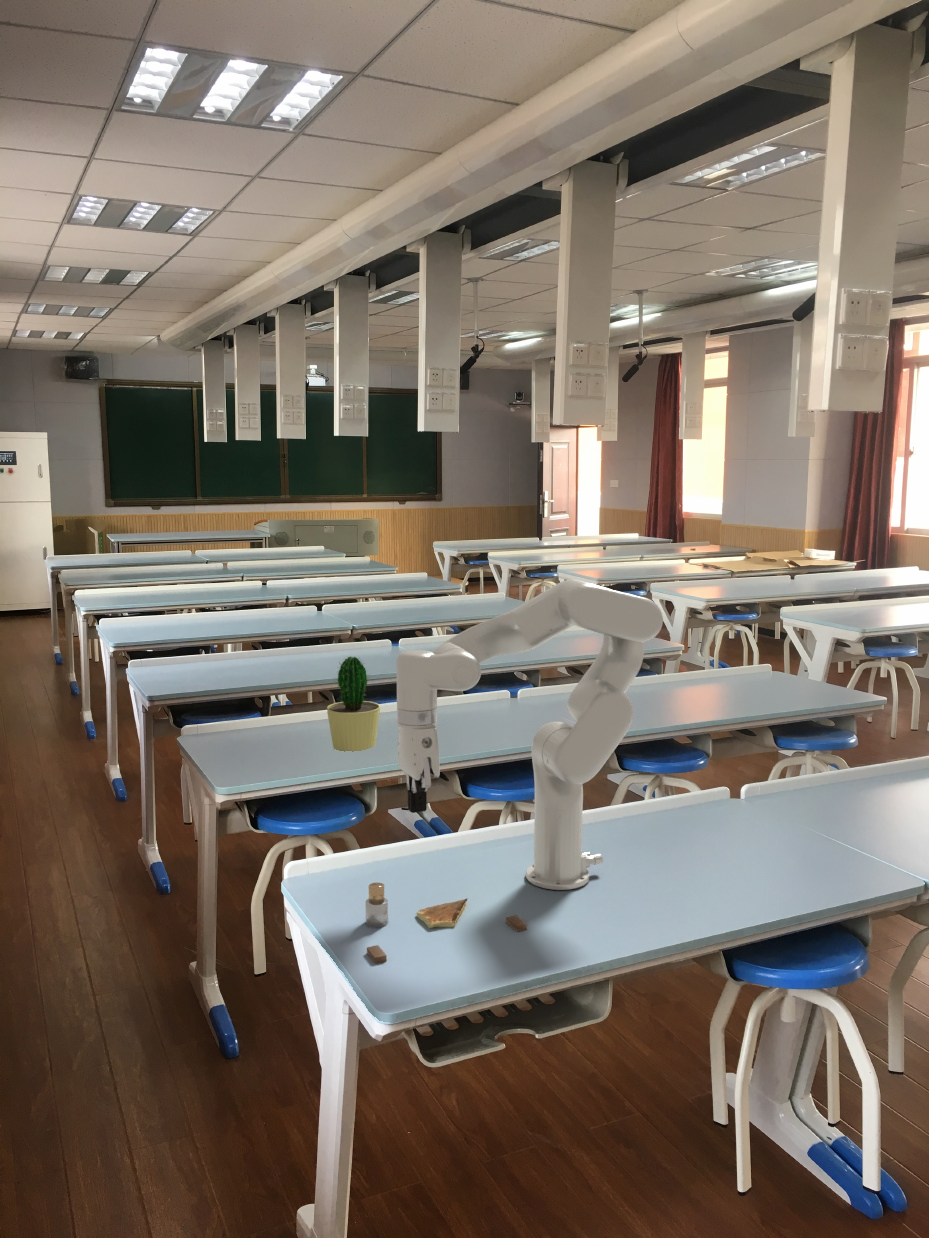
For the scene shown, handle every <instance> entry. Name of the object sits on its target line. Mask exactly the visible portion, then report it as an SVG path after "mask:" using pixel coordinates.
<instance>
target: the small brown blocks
mask: <svg viewBox="0 0 929 1238" xmlns="http://www.w3.org/2000/svg"><path fill="white" fill-rule="evenodd" d="M505 919H506V920H505V922H506V924H508V926H510V927H511V928H512V929H513V930H514V931H515V932H522V931H525V930H526V931H527V930H528V924H527V923H526V921H524V920H523V919H521V918H520V917H519V916H518V915H517V914H514V915H510V916H506V918H505ZM366 954H367V955H368V956H369V957H370V959H371V960H372V962H373V963H374V964H379V963H383V962H384V963H385V962H387V954H386V952H385V951H384V950H383V949H382V948H381V947H380V945H379V944H377V945H376V944H375V945H372V946H367V947H366Z"/></svg>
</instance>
